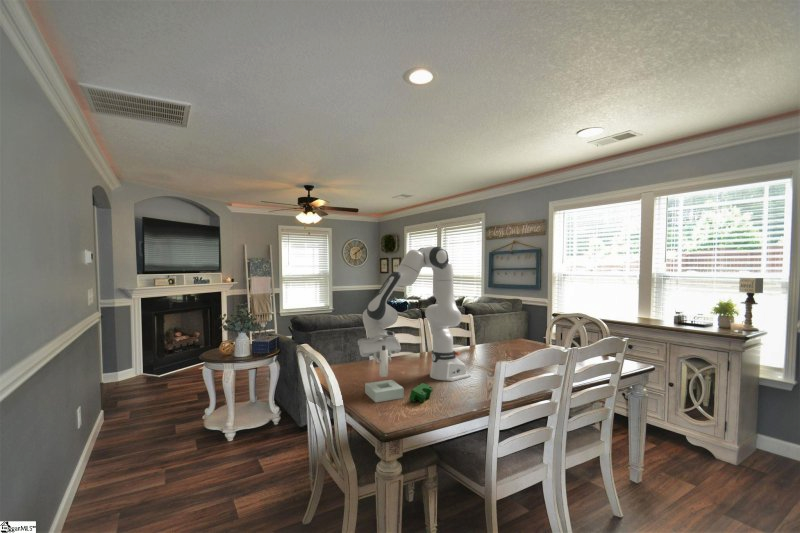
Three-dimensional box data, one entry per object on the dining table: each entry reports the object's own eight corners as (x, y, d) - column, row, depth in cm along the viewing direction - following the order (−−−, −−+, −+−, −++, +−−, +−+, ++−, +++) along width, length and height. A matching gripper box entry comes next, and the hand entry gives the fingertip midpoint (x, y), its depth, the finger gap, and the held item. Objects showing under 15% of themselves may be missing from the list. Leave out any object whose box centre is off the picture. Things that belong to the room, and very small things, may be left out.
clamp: (420, 412, 169) (421, 397, 164) (409, 406, 172) (409, 392, 167) (433, 395, 178) (434, 380, 173) (422, 390, 180) (423, 375, 176)
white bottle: (385, 373, 181) (386, 344, 180) (389, 376, 177) (389, 346, 177) (378, 374, 179) (378, 345, 179) (381, 377, 175) (381, 347, 175)
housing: (391, 388, 187) (391, 379, 187) (403, 397, 175) (403, 388, 175) (365, 392, 181) (365, 383, 181) (375, 402, 169) (375, 392, 169)
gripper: (358, 335, 180) (364, 360, 171) (397, 332, 188) (405, 356, 179) (355, 342, 184) (361, 367, 175) (393, 339, 192) (401, 363, 183)
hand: (384, 361), depth 177 cm, fingers closed on white bottle, 4 cm apart
